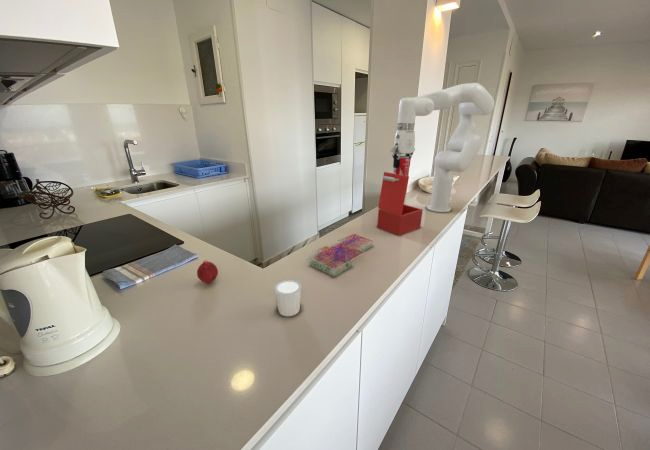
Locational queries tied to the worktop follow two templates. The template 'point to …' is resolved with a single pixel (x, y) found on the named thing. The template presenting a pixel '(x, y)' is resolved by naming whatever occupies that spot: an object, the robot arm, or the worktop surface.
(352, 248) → the confetti patterned tile
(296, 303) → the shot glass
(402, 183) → the lid
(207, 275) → the onion
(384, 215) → the red box
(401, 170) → the soda can
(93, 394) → the worktop surface
